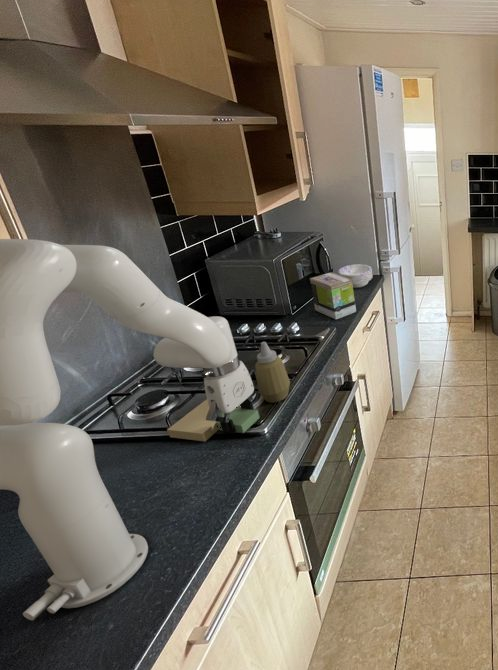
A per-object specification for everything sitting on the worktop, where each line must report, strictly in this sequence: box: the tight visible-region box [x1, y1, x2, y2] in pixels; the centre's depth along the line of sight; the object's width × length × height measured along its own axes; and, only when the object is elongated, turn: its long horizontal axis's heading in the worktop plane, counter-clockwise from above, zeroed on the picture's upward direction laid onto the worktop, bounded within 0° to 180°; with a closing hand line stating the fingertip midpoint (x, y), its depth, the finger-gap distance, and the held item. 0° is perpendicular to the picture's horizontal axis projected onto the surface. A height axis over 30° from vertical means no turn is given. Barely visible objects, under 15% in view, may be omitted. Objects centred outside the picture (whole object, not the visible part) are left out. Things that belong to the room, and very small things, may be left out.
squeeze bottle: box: [254, 341, 291, 404], centre depth 117 cm, size 8×8×18 cm
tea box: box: [309, 271, 357, 320], centre depth 170 cm, size 15×10×15 cm
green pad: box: [217, 408, 261, 434], centre depth 109 cm, size 6×10×2 cm, turn 82°
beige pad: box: [166, 398, 220, 442], centre depth 110 cm, size 14×10×2 cm
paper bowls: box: [337, 263, 374, 289], centre depth 199 cm, size 15×15×8 cm
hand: (239, 422), depth 109 cm, fingers open, 6 cm apart
